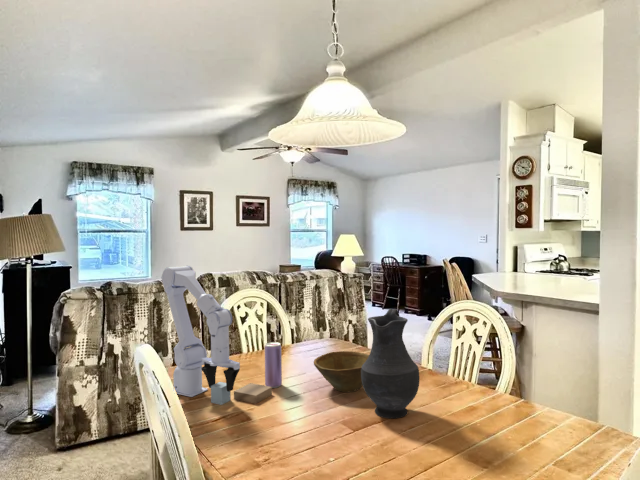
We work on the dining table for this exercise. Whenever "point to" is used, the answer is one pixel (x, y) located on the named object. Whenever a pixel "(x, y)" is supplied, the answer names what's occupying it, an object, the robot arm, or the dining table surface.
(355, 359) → the bowl
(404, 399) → the pitcher
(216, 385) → the pale grey-blue block
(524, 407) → the dining table surface
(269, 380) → the beverage can
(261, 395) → the tan block
